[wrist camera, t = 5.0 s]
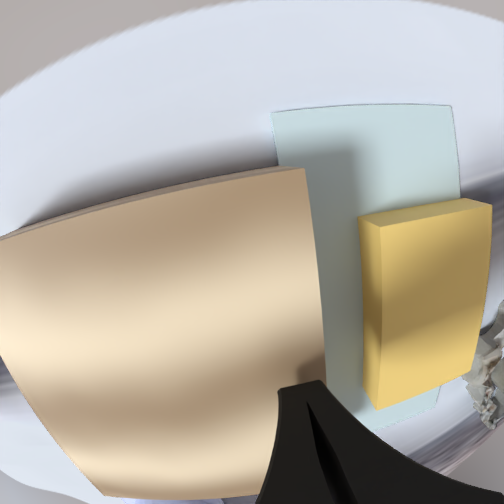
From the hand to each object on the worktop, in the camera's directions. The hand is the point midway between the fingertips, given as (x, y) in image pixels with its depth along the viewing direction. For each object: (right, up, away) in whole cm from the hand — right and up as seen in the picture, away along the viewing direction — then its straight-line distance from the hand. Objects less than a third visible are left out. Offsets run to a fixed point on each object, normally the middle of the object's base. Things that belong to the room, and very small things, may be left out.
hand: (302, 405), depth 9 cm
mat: (+5, +2, +5) cm, 7 cm away
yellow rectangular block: (+7, +2, +2) cm, 7 cm away
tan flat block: (-5, 0, +4) cm, 7 cm away
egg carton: (+16, -3, +8) cm, 18 cm away
